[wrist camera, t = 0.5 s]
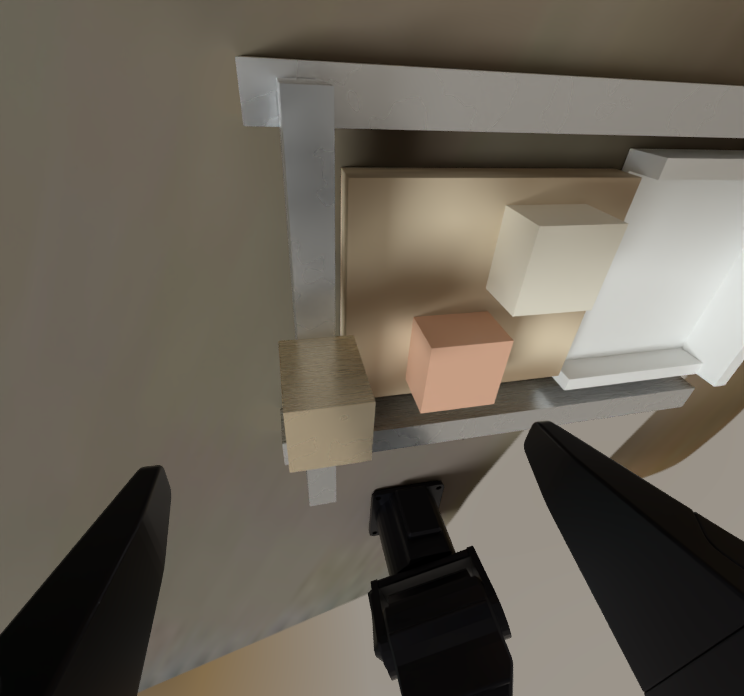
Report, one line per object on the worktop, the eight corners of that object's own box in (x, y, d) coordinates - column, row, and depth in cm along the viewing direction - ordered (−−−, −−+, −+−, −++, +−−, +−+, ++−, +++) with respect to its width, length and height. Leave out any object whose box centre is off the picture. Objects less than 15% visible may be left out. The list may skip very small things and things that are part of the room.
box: (680, 353, 33) (724, 385, 29) (544, 368, 30) (577, 405, 27) (806, 151, 24) (889, 166, 21) (630, 148, 21) (694, 165, 18)
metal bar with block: (340, 455, 26) (362, 570, 20) (292, 462, 25) (302, 582, 19) (342, 80, 14) (398, 100, 8) (252, 76, 13) (246, 94, 8)
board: (542, 358, 29) (558, 375, 28) (340, 379, 26) (345, 400, 25) (614, 168, 22) (642, 177, 20) (341, 167, 19) (348, 178, 17)
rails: (652, 382, 34) (681, 406, 32) (282, 430, 28) (285, 465, 25) (830, 90, 22) (899, 95, 19) (238, 55, 15) (235, 56, 13)
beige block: (557, 283, 23) (591, 310, 21) (485, 288, 22) (512, 316, 20) (586, 203, 20) (628, 223, 18) (505, 205, 19) (539, 226, 17)
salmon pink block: (472, 371, 26) (493, 403, 23) (405, 379, 25) (420, 413, 22) (487, 311, 23) (513, 340, 21) (413, 316, 22) (431, 348, 20)
